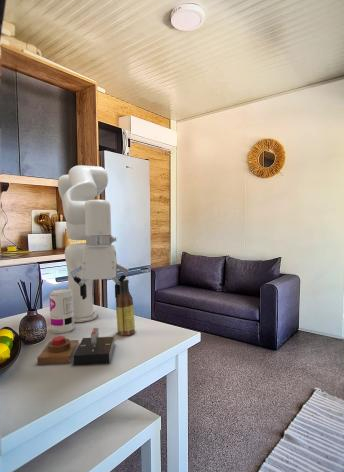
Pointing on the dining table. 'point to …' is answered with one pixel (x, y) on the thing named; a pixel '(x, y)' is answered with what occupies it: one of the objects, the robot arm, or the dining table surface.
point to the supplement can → (61, 310)
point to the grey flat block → (94, 338)
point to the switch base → (94, 352)
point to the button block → (58, 353)
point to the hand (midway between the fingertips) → (100, 297)
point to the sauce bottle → (125, 310)
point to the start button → (59, 340)
